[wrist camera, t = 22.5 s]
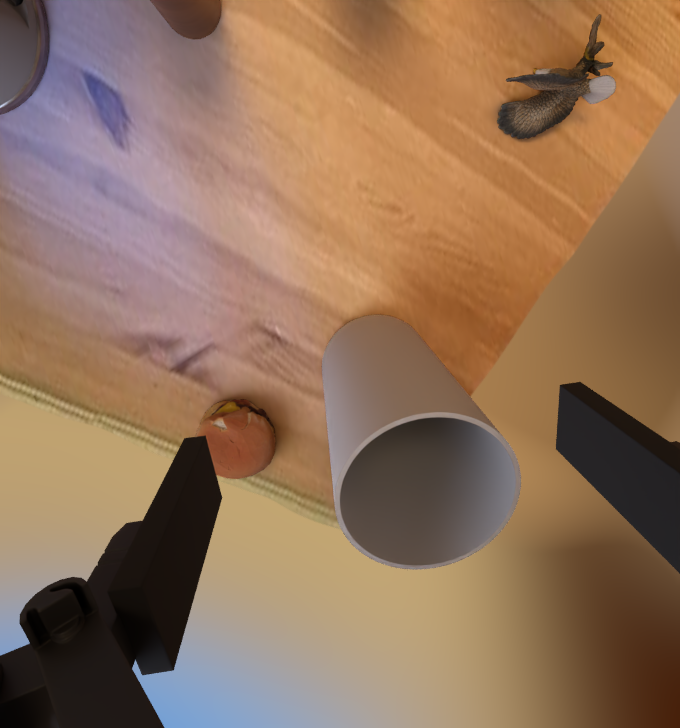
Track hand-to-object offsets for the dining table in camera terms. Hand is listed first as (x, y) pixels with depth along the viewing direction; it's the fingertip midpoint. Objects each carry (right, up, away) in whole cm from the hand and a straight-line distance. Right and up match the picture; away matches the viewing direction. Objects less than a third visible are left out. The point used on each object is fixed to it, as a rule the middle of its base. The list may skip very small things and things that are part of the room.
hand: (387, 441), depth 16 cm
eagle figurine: (+18, +30, +28) cm, 44 cm away
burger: (-14, -5, +38) cm, 41 cm away
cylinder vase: (+2, +3, +36) cm, 37 cm away
